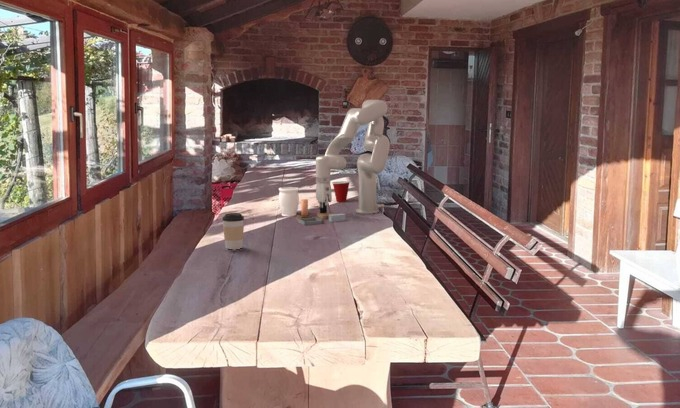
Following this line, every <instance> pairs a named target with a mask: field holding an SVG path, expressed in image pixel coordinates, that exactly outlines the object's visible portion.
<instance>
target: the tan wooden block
mask: <svg viewBox="0 0 680 408" xmlns="http://www.w3.org/2000/svg"><path fill="white" fill-rule="evenodd" d="M332 214H335V213H334V212H327V213H320V212H319V213H316V218H319V219H321V220H329V215H332Z"/></svg>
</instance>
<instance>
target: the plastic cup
mask: <svg viewBox="0 0 680 408" xmlns="http://www.w3.org/2000/svg"><path fill="white" fill-rule="evenodd" d="M350 183H351V181H349V180H337V181H332V182H331V185H332V186H333V190H334V194H335V195H334V196H335V201H336V203H346V202H347V200H348V199H347V198H348V194H349V187H350Z"/></svg>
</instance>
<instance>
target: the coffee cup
mask: <svg viewBox="0 0 680 408" xmlns="http://www.w3.org/2000/svg"><path fill="white" fill-rule="evenodd" d="M244 220H245V216H244V215H242V213H239V212H230V213H226V214H224V216H222V222H223V223H222V228H223V237H224V244H225V249H226V248H229V249H240V248H242V249H243V247H244V246H243V245H244V243H243V240H244V230H245V228H244V227H245V225H244ZM240 250H241V249H240Z"/></svg>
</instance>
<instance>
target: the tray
mask: <svg viewBox="0 0 680 408" xmlns="http://www.w3.org/2000/svg"><path fill="white" fill-rule="evenodd" d="M324 220H325V219H321V218H319V217H317V216H314V217H313V218H303V219H297V220H296V221H297V223H299V224H301V225H303V226H310V225H321V224H324V223H325V222H324Z"/></svg>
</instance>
